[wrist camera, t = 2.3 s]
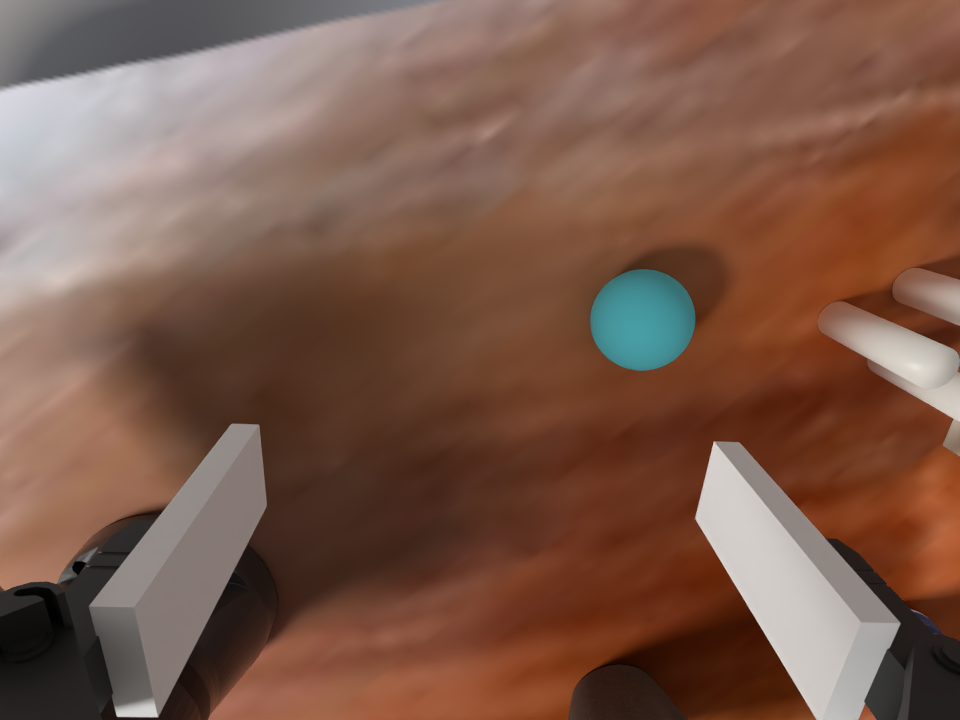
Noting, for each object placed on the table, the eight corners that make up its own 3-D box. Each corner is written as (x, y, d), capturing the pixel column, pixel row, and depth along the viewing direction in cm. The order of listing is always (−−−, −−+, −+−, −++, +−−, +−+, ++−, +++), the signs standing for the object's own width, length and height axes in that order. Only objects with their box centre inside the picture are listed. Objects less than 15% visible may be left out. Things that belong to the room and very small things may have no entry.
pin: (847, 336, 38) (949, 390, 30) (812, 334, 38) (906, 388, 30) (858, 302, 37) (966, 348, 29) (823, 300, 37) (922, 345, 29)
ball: (663, 351, 38) (699, 389, 32) (575, 346, 38) (595, 384, 32) (682, 262, 36) (724, 286, 30) (588, 256, 35) (612, 279, 30)
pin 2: (895, 374, 39) (1005, 435, 31) (862, 372, 39) (964, 433, 31) (907, 341, 38) (1024, 396, 31) (873, 340, 38) (981, 393, 30)
